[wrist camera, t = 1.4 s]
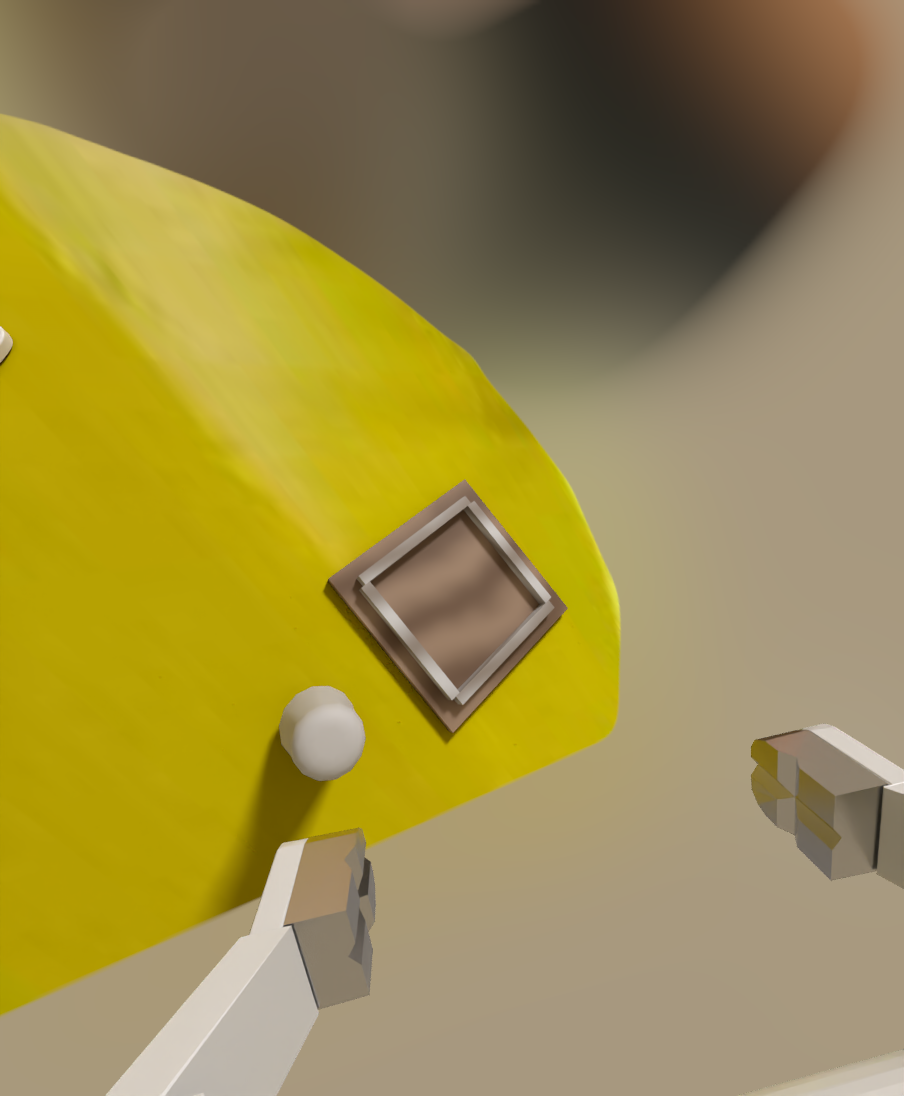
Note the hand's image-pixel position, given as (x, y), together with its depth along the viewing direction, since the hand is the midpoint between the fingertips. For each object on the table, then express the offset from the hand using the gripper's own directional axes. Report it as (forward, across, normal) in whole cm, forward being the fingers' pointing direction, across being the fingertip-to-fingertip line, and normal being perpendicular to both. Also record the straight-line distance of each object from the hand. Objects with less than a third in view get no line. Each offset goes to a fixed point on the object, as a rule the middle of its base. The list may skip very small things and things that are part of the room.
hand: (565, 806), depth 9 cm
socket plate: (+34, 0, +7) cm, 35 cm away
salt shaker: (+26, +13, +13) cm, 32 cm away
